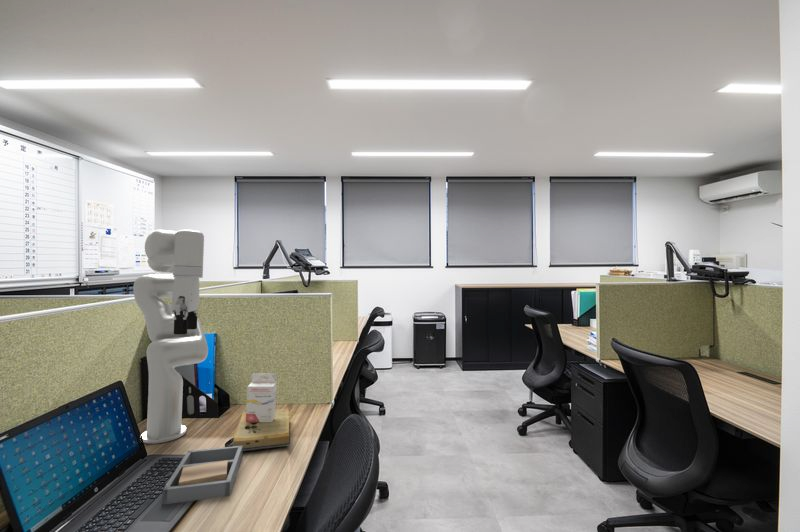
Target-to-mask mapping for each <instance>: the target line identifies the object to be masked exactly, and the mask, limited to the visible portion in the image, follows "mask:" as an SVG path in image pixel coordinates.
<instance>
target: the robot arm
mask: <svg viewBox="0 0 800 532" xmlns="http://www.w3.org/2000/svg"><path fill="white" fill-rule="evenodd" d="M204 246H205V236H204V234H203V233H202V232H201V231H199V230H193V229H180V230H177V231H175V230H165V229H156V230H153V231H151V232H150V233H149V234H148V235H147V237H146V240H145V243H144V252H145V255H146V257H147V263H148V266H149V267H150V270H152V271H154V272H156V273H163V274H147V275H146V274H145V275H142V276H139V277H137V278H136V279H135V280H134V283H133V287H132V288H133V289H132V290H133V296H134V300H135V302H136V304H137V305H136V306H138V308H139V309H140V311H141V312H142V314H143V316H144V320H145V322H144V323H145V326H146V330H147V331H146V332H147V334H148V335H147V336H148V337H149V340H150V341H151V342H150V343H149V344H148V346H147V348H146V360H147V371H148V392H147V393H148V394H147V395H148V396H147V415H146V416H147V419H146V430H145V431H144V432H142V434H140V437H141V436H142V439H143V442H142V443H143V444H152V445H154V444H163V443H167V442H171V441H173V440H176V439H179V438H181V437H183V436H184V435H185V434H186V432H187V426H186V425H183V424H182V417H183V415H182V414H183V413H182V412H183V395H184V393H183V390H184V389H183V387H184V380H183V377H182V375H181V374H180V373H179V372H178V371H177V370H176V369H175V368H176V367H182V366H189V365H194V364H195V365H196V364H200V363H202V362H204V361H206V359H207V357H208V355H209V346H208V341H207V338H206V335H205V332H204V329H203V326H202V323H201V320H200V318H199V317H198V309H199V307H200V279H202V278H203V277H204V251H205V250H204ZM164 273H166V274H164ZM161 298H171V303H170V304H171V305H169V304H168V303H167V302H166V301H165V300H162V299H161Z"/></svg>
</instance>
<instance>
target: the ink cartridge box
mask: <svg viewBox="0 0 800 532" xmlns="http://www.w3.org/2000/svg"><path fill="white" fill-rule="evenodd" d="M263 377H266V378H263ZM277 383H278V382H277V373H275V372H273V373H269V372H268V373H265V372H261V373H260V372H259V373H255V372H254V373H251V382H250V383H249V384H248V385H247V387H246V404H245V411H246V422H272V421H273V419H274V418H275V411H276V410H277V409H276V407H277Z"/></svg>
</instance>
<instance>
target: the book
mask: <svg viewBox="0 0 800 532" xmlns="http://www.w3.org/2000/svg"><path fill="white" fill-rule="evenodd" d="M289 421H290V407H289V406H286V407H285V408H281V409H279V408H278V409H276V411H275V418H274V419H273V421H272V422H246V410H243V411H242V414H241V417H240V419H239V422H238V424H237V427H236V431H235V433H234V436H233V438H232V439H233V441H232V446H242V445H243V450H242V452H246V451H254V450H262V449H270V448H271V449H272V448H279V447H289V446H290V444H291V421H290V422H289Z"/></svg>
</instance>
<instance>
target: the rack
mask: <svg viewBox="0 0 800 532" xmlns="http://www.w3.org/2000/svg"><path fill="white" fill-rule="evenodd" d="M242 450H243V445H242V446H233V445H232V446H223V447H214V448H203V449H195V450H193V449H192V450H187V452H186V453H185V455H184V457H182V459H181V461H180V463H179V465H178V466H177V467H176V469H175V470H174V472H173V473H172V475H171V476H170V478H169V480H168V481H167V483H165V486H164V487H163V489H162V494H161V495H162V496H161V505H163V506H164V505H170V504H178V503H186V502H192V501H199V500H200V501H201V500H208V499H215V498H217V499H218V498H223V497H230V496H231V493H232V489H233V486H234V483H235V480H236V477H237V475H238V471H239V469H240V465H241V462H242V459H243V451H242ZM225 460H228V463H227V475H228V477H227V479H226V480H223V481H215V482H207V483H199V484H190V485H182V486H179V480H180V477H181V473H182V470H183V468H184V467H190V466H196V465H202V464H207V463H213V462H219V461H225Z"/></svg>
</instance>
